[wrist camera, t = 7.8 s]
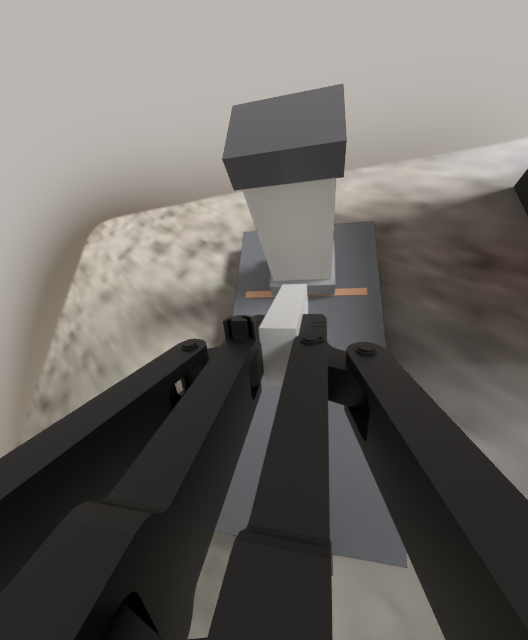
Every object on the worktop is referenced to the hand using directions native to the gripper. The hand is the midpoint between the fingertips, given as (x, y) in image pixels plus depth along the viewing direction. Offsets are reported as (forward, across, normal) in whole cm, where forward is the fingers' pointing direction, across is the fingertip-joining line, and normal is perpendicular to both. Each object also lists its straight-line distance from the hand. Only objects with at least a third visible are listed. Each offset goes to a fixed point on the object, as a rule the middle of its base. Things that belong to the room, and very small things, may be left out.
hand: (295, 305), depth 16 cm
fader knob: (+6, 0, 0) cm, 6 cm away
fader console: (+4, 0, -6) cm, 7 cm away
